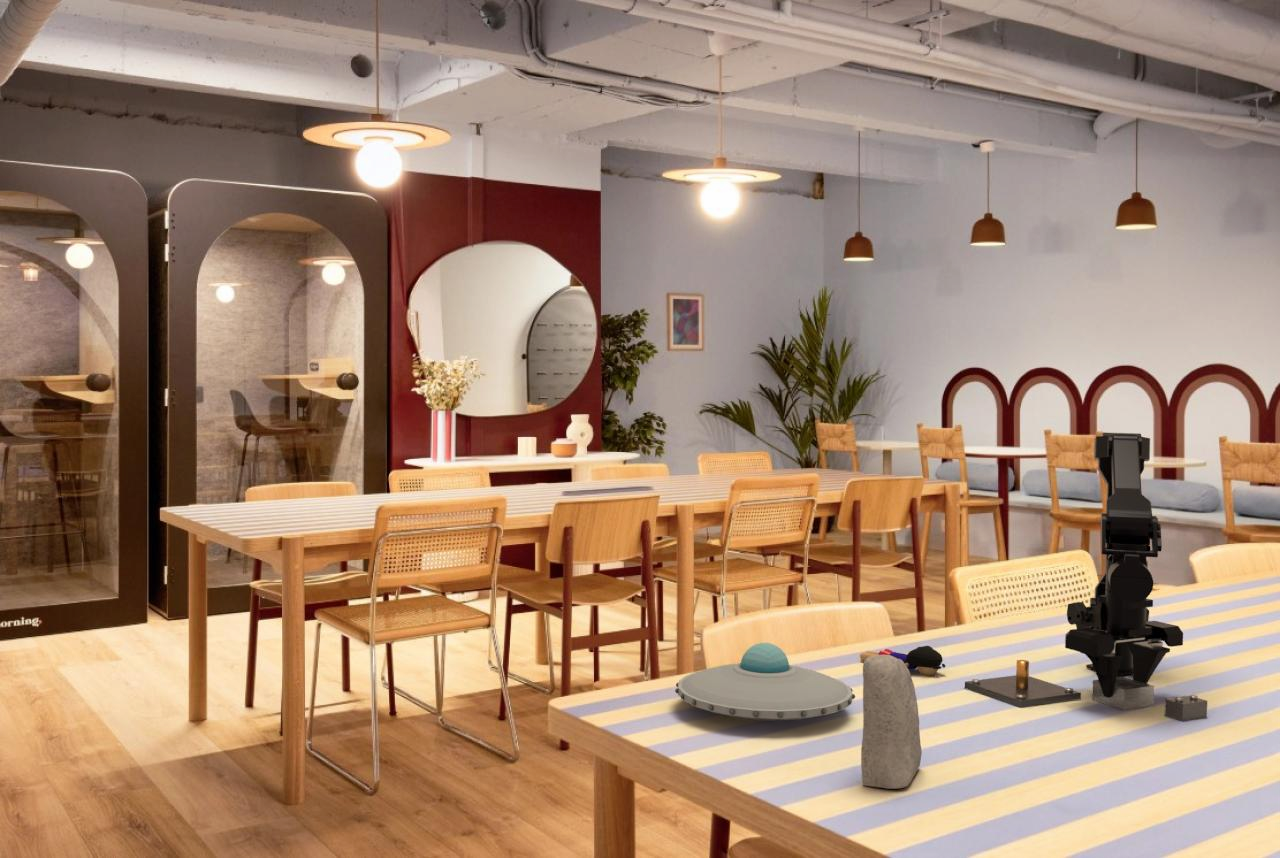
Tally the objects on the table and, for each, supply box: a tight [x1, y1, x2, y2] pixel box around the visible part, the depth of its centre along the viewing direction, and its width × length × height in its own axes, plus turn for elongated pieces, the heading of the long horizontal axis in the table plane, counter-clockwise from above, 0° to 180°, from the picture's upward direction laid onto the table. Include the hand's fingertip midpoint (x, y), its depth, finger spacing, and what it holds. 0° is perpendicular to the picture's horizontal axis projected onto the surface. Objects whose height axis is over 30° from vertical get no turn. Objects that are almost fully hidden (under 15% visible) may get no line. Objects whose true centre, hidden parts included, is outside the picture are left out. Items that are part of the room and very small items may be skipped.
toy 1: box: [674, 642, 856, 721], centre depth 173 cm, size 26×26×10 cm
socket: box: [1091, 675, 1155, 711], centre depth 181 cm, size 6×6×3 cm
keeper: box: [964, 659, 1082, 708], centre depth 186 cm, size 12×12×5 cm
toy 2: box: [859, 645, 946, 677], centre depth 200 cm, size 10×5×15 cm
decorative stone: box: [860, 655, 922, 790], centre depth 146 cm, size 11×6×15 cm, turn 150°
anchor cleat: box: [1164, 694, 1208, 722], centre depth 174 cm, size 5×3×3 cm, turn 116°
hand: (1122, 694), depth 181 cm, fingers closed on socket, 6 cm apart
